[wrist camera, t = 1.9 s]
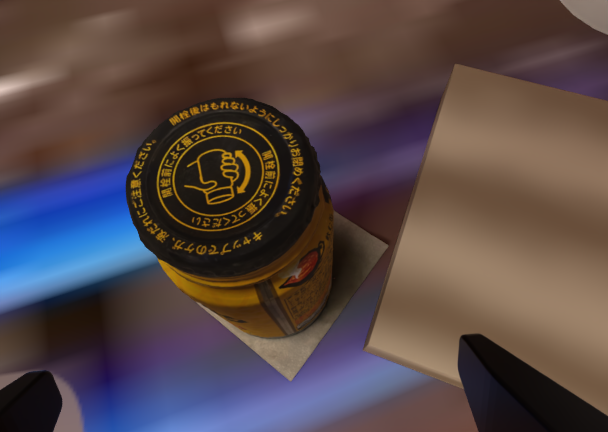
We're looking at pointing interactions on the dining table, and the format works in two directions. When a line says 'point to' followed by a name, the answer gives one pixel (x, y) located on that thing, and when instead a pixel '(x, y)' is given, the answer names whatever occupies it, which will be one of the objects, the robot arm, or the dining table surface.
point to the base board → (505, 236)
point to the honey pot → (590, 12)
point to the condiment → (248, 225)
